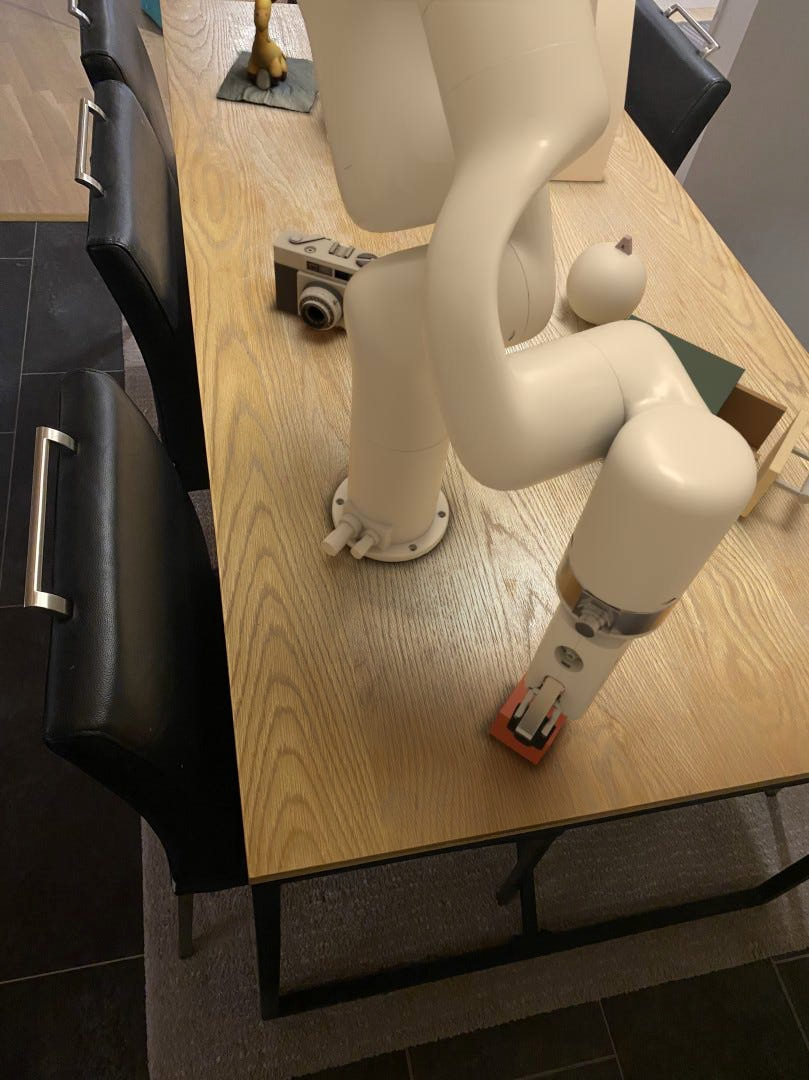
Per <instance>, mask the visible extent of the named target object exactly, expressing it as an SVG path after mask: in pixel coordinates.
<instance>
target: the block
mask: <svg viewBox="0 0 809 1080" xmlns="http://www.w3.org/2000/svg"><path fill="white" fill-rule="evenodd" d="M527 671H528V669H527V670H526V671H525V673H524V675H523V676H522V678H521V679H520V681H519V682H518V684H517V685H516V687H514V689H513V691H512V692H511V694H510V695H509V697H508V698H507V700H506V701H505V703H504V704H503V706H502V707H501V709H500V710H499V712H498V714H497V716H496V717H495V720H494V722H493V724H492V726H491V728H490V730H489V734H490V735H491V736H493V737H494V738H496V739H497V740H499V741H500V742H502V743H503V744H504V745H506V746H507V747H508V748H510V749H512V750H513V751H514V752H516V753H517V754H519V755H520V756H521V757H523V758H524V759H526V760H528V761H529V762H531V763H532V764H533V765H535V766H537V765H538V763H539V762H540V760H541V759H542V758H543V757H544V755H545V754H546V752H547V751H548V750H549V748H550V746H551V745H552V744H553V742H554V740H555V739H556V737H557V735H558V734H559V732H560V730H561V729H562V727H563V725H564V724H565V722H566V720H567V719H568V717H566V716H565V715H563V713H562V712H561V714H560V715H559V717H558V719H557V720H556V722H555V723H554V724H555V726H556V729H555V730H554V732H553V733H552V735H551V737H550V738H549V740H548V741H547V743H546V744H545V746H544V748H543V749H542V750H538V749H536V748H535V747H533V746H531V747H528V746H525V745H523V744H522V743H520V742H519V741H518V740H516V739H515V737H514V735H513V734H514V733H513V732H511V731H510V730H508V728H507V724H508V722H509V720H510V718H511V716H512V714H513V712H514V710H515V708H516V706H517V705H518V703H522V701H523V700H524V698H525V696H526V695H527V693H528V691H529V690H530V688H529V689H528V690H527V689H526V687H525V683H524V679H525V676H526V674H527ZM544 683H545V682H542V684H544ZM562 692H563V691H561V692H560V693H559V694H560V695H562ZM536 696H537V695H535V696H534V698H533V700H532V701H531V703H530V705H531V704H532V702H533V701H534V699H535V697H536ZM530 705H529V706H530ZM555 708H556V707H554V706H553V705H552V706H551V708H550V710H549V711H548V713H547V715H546V716H547V717H549V718H550V716H551V714H552V713H553V711H554V710H555ZM549 718H548V719H549Z"/></svg>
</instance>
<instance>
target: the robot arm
mask: <svg viewBox="0 0 809 1080" xmlns="http://www.w3.org/2000/svg"><path fill="white" fill-rule="evenodd" d="M295 1H296V3H297V6H298V9H299V11H300V14H301V17H302V20H303V23H304V27H305V31H306V35H307V39H308V43H309V48H310V53H311V58H312V61H313V65H314V70H315V75H316V81H317V86H318V91H317V92H318V95H319V100H320V101H319V102H320V105H321V107H320V108H321V111H322V112H321V113H322V117H323V121H324V127H325V132H326V137H327V142H328V147H329V151H330V152H329V153H330V156H331V161H332V166H333V172H334V176H335V180H336V184H337V188H338V192H339V195H340V200H341V202H342V205H343V207H344V210H345V212H346V214H347V216H348V217H349V219H350V220H351V221H352V223H353V224H354V225H355V226H356V227H358V228H359V229H360V230H364V231H366V232H369V233H377V234H378V233H379V234H386V233H395V232H401V231H408V230H411V229H412V230H413V229H416V228H417V229H418V228H420V227H421V228H422V227H426V226H430V225H434V226H433V229H432V232H431V236H430V239H429V242H428V243H425V244H421V245H416V246H413V247H409V248H405V249H402V250H397V251H394V252H391V253H388V254H384V255H381V256H382V257H380V258H377V259H375V260H373V261H371V262H369V263H367V264H366V265H364V266H363V267H362V268H360V269H359V270H358V271H357V272H356V273H355V274H354V275H353V276H352V277H351V279H350V280H349V282H348V284H347V286H346V289H345V293H344V299H343V312H344V321H345V326H346V330H345V332H346V337H347V343H348V351H349V355H350V356H349V357H350V365H351V401H350V402H351V404H350V426H349V427H350V428H349V429H350V431H349V434H350V435H349V448H348V449H349V452H348V470H347V471H348V472H347V477H346V478H345V479H344V480H343V481H342V482H341V483H340V484H339V486H338V487H337V489H336V490H335V492H334V495H333V498H332V505H331V514H332V515H331V518H332V522H333V526H334V528H335V529H334V530H332V531H331V532H330V533H329V534H328V535H327V536H326V537H324V539H323V540H322V541H321V542H320V547H321V548H322V550H323V551H324V552H325V553H326V554H327V555H329V556H330V557H331V556H332V557H335V556H337V554H338V553H340V551H341V550H342V549H343V548H344V547H345V546H346V545H347V546H348V547H349V548H351V549H349V551H350V552H349V553H350V555H351V556H352V557H354V558H355V559H357V560H361V559H362V558H363V557H367V558H370V559H372V560H376V561H381V562H390V563H391V562H393V563H397V562H407V561H410V560H415V559H418V558H420V557H421V556H423V555H425V554H428V553H429V552H430V551H431V550H433V549H434V548H435V547H437V546H438V544H439V543H440V542H441V540H442V539H443V537H444V535H445V534H446V532H447V527H448V524H449V518H450V510H449V509H450V507H449V503H448V500H447V497H446V495H445V494H444V492H443V490H442V482H443V478H444V472H445V468H446V464H447V460H448V459H447V458H448V453H449V449H450V444H451V447H452V449H453V451H454V453H455V455H456V457H457V459H458V460H459V462H460V464H461V465H462V467H463V468H464V469H465V471H466V472H467V473H468V475H470V477H471V478H473V480H475V481H476V482H478V483H479V484H480V485H481V486H484V487H485V488H488V489H491V490H494V491H498V492H514V491H521V490H524V489H525V490H526V489H529V488H532V487H534V486H537V485H540V484H543V483H545V482H549V481H550V480H554V479H556V478H558V477H562V476H563V475H566V474H568V473H571V472H573V471H576V470H578V469H582V468H584V467H586V466H589V465H592V464H594V463H596V462H597V463H601V464H602V465H601V468H600V470H599V472H598V475H597V477H596V480H595V482H594V483H593V486H592V489H591V490H590V494H589V496H588V498H587V500H586V503H585V505H584V507H583V509H582V511H581V513H580V516H579V518H578V521H577V523H576V524H575V527H574V529H573V532H572V534H571V536H570V538H569V541H568V542H567V546H566V547H565V550H564V552H563V554H562V556H561V558H560V561H559V562H558V565H557V568H556V571H555V577H554V580H555V582H554V584H555V590H556V594H557V596H558V599H559V603H558V605H557V606H556V609H555V611H554V613H553V615H552V617H551V620H550V621H549V623H548V625H547V627H546V629H545V632H544V633H543V636H542V638H541V640H540V641H539V644H538V647H537V648H536V651H535V653H534V655H533V657H532V659H531V662H530V664H529V667H528V669H527V670H528V671H527V670H526V672H527V674H526V676H525V679H524V683H525V687H526V689H527V690H528V689H529V688H530V690H529V691H528V693H527V695H526V696H525V698H524V700H523V701H522V703H518V705H517V706H516V708H515V710H514V712H513V714H512V716H511V718H510V720H509V722H508V724H507V728H508V730H510V731H511V732H513V733H514V734H513V735H514V737H515V739H516V740H518V741H519V742H520V743H522V744H523V745H525V746H528V747H531V746H533V747H535V748H536V749H538V750H542V749H543V748H544V746H545V744H546V743H547V741H548V740H549V738H550V737H551V735H552V733H553V732H554V730H555V729H556V726H555V724H554V723H555V722H556V720H557V719H558V717H559V715H560V714H561V712H562V713H563V715H565V716H566V717H567V719H570V720H571V721H578V720H580V719H582V718H583V717H584V716H585V714H586V712H587V711H588V709H589V708H590V706H591V705H592V704H593V702H594V700H595V699H596V697H597V695H598V694H599V692H601V689H602V688H603V687H604V685H605V684H606V682H607V680H608V679H609V678H610V676H611V675H612V673H613V671H614V670H615V669H616V668H617V666H618V664H619V663H620V661H621V660H622V658H623V657H624V655H625V654H626V652H627V650H628V649H629V647H630V646H631V644H632V643H633V641H634V640H637V639H640V638H644V637H646V636H649V635H650V634H652V633H654V632H655V631H657V630H658V628H660V626H662V624H664V622H665V620H667V618H668V616H670V613H672V611H673V609H674V608H675V607H676V605H677V604H678V603H679V602H680V600H681V599H682V597H683V595H684V594H685V593H686V591H688V589H689V587H690V586H691V585H692V583H693V582H694V580H695V579H696V577H697V576H698V575H699V573H700V572H701V571H702V570H703V568H704V567H705V565H706V563H707V562H708V561H709V559H710V558H711V557H712V556H713V554H714V553H715V551H716V550H717V548H718V547H719V546H720V545H721V543H722V542H723V540H724V538H726V536H727V534H728V533H729V532H730V530H731V529H732V528H733V526H734V524H735V523H736V522H737V521H738V519H739V518H740V516H741V513H742V512H743V510H744V509H745V507H746V506H747V504H748V502H749V501H750V499H751V497H752V495H753V493H754V490H755V487H756V481H757V473H758V468H757V467H758V466H757V462H756V461H755V458H754V455H753V453H752V450H751V448H750V446H749V445H748V443H747V441H746V440H745V439H744V438H743V437H742V435H741V434H740V433H739V432H738V431H737V430H735V429H734V428H733V427H732V426H731V425H729V424H728V423H727V422H725V421H724V420H722V419H721V418H719V417H717V416H715V415H713V414H712V413H711V412H710V410H709V409H708V407H707V405H706V404H705V402H704V401H703V399H702V398H701V396H700V395H699V393H698V391H697V389H696V388H695V386H694V384H693V382H692V381H691V379H690V377H689V375H688V374H687V372H686V370H685V368H684V367H683V365H682V363H681V361H680V360H679V358H678V357H677V355H676V353H675V352H674V350H673V349H672V347H671V346H670V344H669V343H668V342H667V340H666V339H665V338H664V337H663V336H662V335H661V334H660V333H659V332H658V331H657V330H655V329H654V328H653V327H652V326H650V325H648V324H646V323H644V322H641V321H636V320H627V319H624V320H620V321H616V322H611V323H607V324H604V325H598V326H594V327H591V328H588V329H585V330H582V331H579V332H576V333H573V334H570V335H564V336H561V337H557V338H554V339H551V340H547V341H544V342H541V343H539V344H535V345H532V346H529V347H525V348H523V349H519V350H517V351H513V352H509V353H507V351H506V349H509V348H512V347H515V346H518V345H521V344H523V343H526V342H528V341H531V340H533V339H535V337H537V336H538V335H540V334H541V333H542V331H544V330H545V328H546V327H547V326H548V324H549V322H550V320H551V319H552V315H553V311H554V307H555V304H556V294H557V293H556V292H557V277H556V276H557V275H556V263H555V262H556V260H555V248H554V233H553V220H552V207H551V194H550V182H551V181H552V180H551V179H552V178H554V177H555V176H556V175H557V174H559V173H560V172H561V171H563V170H564V169H565V168H566V167H568V166H569V165H570V164H572V163H573V162H574V161H576V160H577V159H578V158H579V157H581V156H582V155H583V154H584V153H586V152H587V151H588V150H589V149H590V148H591V147H592V146H593V145H594V144H595V143H596V142H597V141H598V139H599V138H600V137H601V136H602V134H603V133H604V131H605V129H606V127H607V125H608V123H609V117H610V100H609V95H608V91H607V86H606V81H605V76H604V71H603V66H602V60H601V55H600V49H599V46H598V42H597V36H596V31H595V25H594V20H593V14H592V9H591V3H590V0H295ZM542 682H545V683H544V684H542ZM560 692H562V695H560V694H559V693H560ZM535 695H537V696H536V697H535V699H534V701H533V702H532V704H531V705H530V703H531V701H532V700H533V698H534V696H535ZM529 705H530V706H529ZM552 705H553V706H554V707H556V708H555V710H554V711H553V713H552V714H551V716H550V718H549V717H547V716H546V715H547V713H548V711H549V710H550V708H551V706H552ZM548 718H549V719H548Z"/></svg>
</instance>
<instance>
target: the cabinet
mask: <svg viewBox="0 0 809 1080" xmlns="http://www.w3.org/2000/svg"><path fill="white" fill-rule="evenodd" d="M626 320H636V321H641V322H644V323H646V324H648V325H650V326H652V327H653V328H654V329H655V330H657V331H658V332H659V333H660V334H661V335H662V336H663V337H664V338H665V339H666V340H667V342H668V343H669V344H670V346H671V347H672V349H673V350H674V352H675V353H676V355H677V357H678V358H679V360H680V361H681V363H682V365H683V367H684V368H685V370H686V372H687V374H688V375H689V377H690V379H691V381H692V382H693V384H694V386H695V388H696V389H697V391H698V393H699V395H700V396H701V398H702V399H703V401H704V402H705V404H706V405H707V407H708V409H709V410H710V412H711V413H712V414H713V415H715V416H716V415H717V413H718V412H719V410H720V409H721V407H722V406H723V404H724V403H725V401H726V399H727V398H728V396H729V395H730V393H731V392H732V390H733V389H734V387H735V386H736V384H737V383H739V382H740V380H741V378H742V377H743V375H744V373H745V372H746V369H745V368H744V367H741V366H739V365H738V364H735V363H733V362H731V361H729V360H727V359H725V358H722V357H721V356H719V355H716V354H714V353H712V352H710V351H708V350H706V349H704V348H702V347H700V346H699V345H696V344H695V343H691V342H689V341H687V340H686V339H683V338H682V337H679V336H677V335H675V334H673V333H671V332H669V331H667V330H665V329H663V328H660V326H659V327H658V326H657V325H655V324H652V323H651V322H649V321H646V320H644V319H642V318H640V317H638V316H637V315H635V314H630V315H629V316H628V317H627V318H626Z"/></svg>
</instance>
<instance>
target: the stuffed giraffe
mask: <svg viewBox="0 0 809 1080" xmlns="http://www.w3.org/2000/svg"><path fill="white" fill-rule="evenodd" d="M277 1H278V0H254V6H253V7H254V9H253V24H254V27H255V29H254V31H255V33H254V37H253V42H252V47H251V52H249V51H245V50H242V51H241V53H240V54H238V57H237V58H236V60H235V61H234V62H233V64H232V65H231V67H230V68H229V71H228V72H227V73H226V76H225V78H223V81H222V83H221V85H220V87H219V89H218V91H217V93H216V95H215V97H217V98H220V99H226V100H229V101H241V100H245V101H247V102H251V103H257V104H265V105H268V106H271V107H272V106H273V107H279V108H285V109H288V110H290V111H291V110H292V111H298V112H301V113H305V112H310V110H311V107H312V106H313V104H314V102H315V99H316V96H317V93H318V92H319V91H318V86H317V81H316V75H315V70H314V65H313V60H311V59H308V58H295V57H290V56H287V55H286V54H285V53H284V52H283V50H282V49H281V47H280V46H279V45H278V44H276V43H275V41H274V40H273V39H271V36H270V34H269V33H270V31H269V30H270V29H269V22H270V20H271V15H272V5H273V4H275V3H276V2H277Z"/></svg>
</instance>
